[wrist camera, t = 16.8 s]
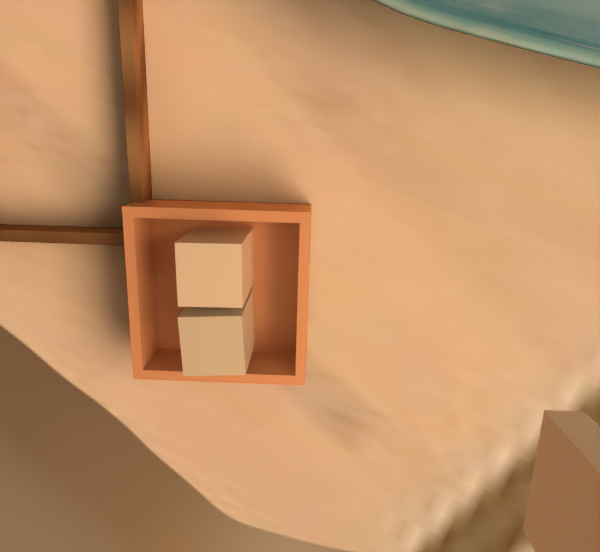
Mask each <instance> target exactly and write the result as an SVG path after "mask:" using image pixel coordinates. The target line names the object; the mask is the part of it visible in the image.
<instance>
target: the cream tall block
mask: <svg viewBox="0 0 600 552" xmlns="http://www.w3.org/2000/svg"><path fill="white" fill-rule="evenodd" d="M175 261H176V280H177V299H178V307H222V308H243V306H244V303H245V301H246V299H247V296H248V294H249V292H250V289H251V287H252V285H253V282H254V248H253V228H243V227H196V228H195V229H193V230H192V231H191V232H189V233H188V234H186V235H185V236H183V237H182V238H181V239H179V240H178V241H176V242H175Z"/></svg>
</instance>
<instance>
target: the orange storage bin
mask: <svg viewBox="0 0 600 552" xmlns="http://www.w3.org/2000/svg"><path fill="white" fill-rule="evenodd" d="M122 217H123V233H124V248H125V263H126V278H127V293H128V308H129V323H130V338H131V353H132V368H133V379H149V380H175V381H202V382H229V383H256V384H283V385H305V376H306V348H307V319H308V290H309V262H310V233H311V204H289V203H258V202H226V201H195V200H163V199H151V200H148V201H145V202H142V203H140V202H134V203H131V204H128V205H125V206H122ZM196 227H243V228H253V248H254V282H253V285H252V287H251V289H252V288H253V297H254V314H255V331H256V341H255V344H254V347H253V351H252V354H251V358H250V361H249V365H248V368H247V372H246V375H219V376H183V367H182V357H181V347H180V337H179V327H178V316H179V315H180V313H181V312H182V311H183V310H184V308H185V307H178V299H177V280H176V261H175V242H176V241H178V240H179V239H181V238H182V237H183V236H185V235H186V234H188V233H189V232H191V231H192V230H193V229H195V228H196Z"/></svg>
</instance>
